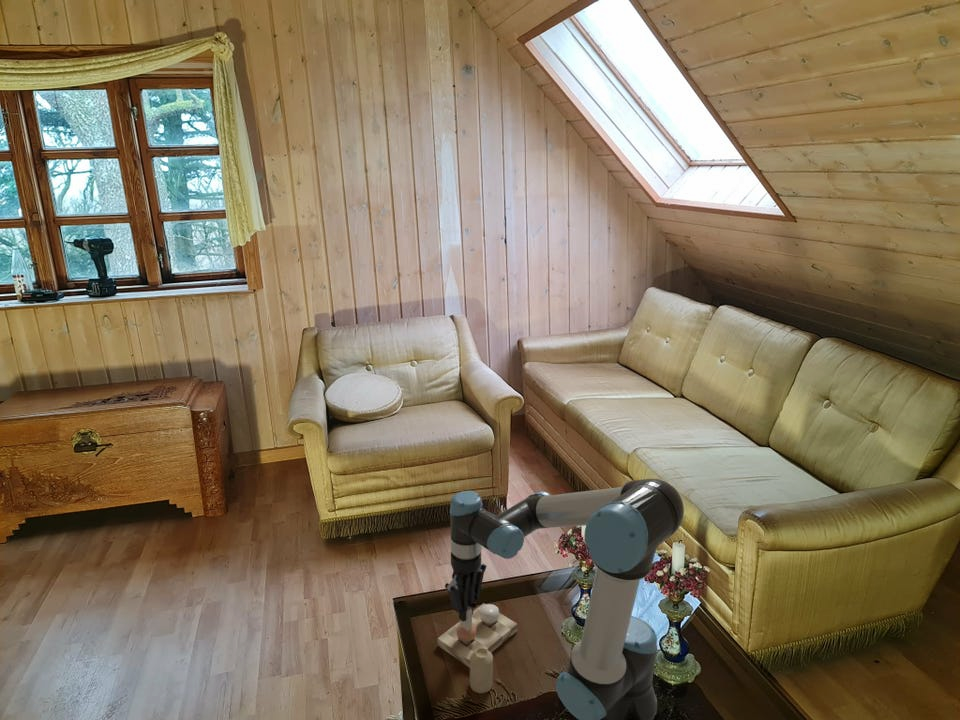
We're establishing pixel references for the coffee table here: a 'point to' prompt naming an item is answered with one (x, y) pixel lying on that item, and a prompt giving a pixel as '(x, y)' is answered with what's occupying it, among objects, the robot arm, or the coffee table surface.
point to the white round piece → (489, 614)
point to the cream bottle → (481, 670)
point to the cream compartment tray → (478, 637)
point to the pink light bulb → (466, 634)
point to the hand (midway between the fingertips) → (466, 627)
